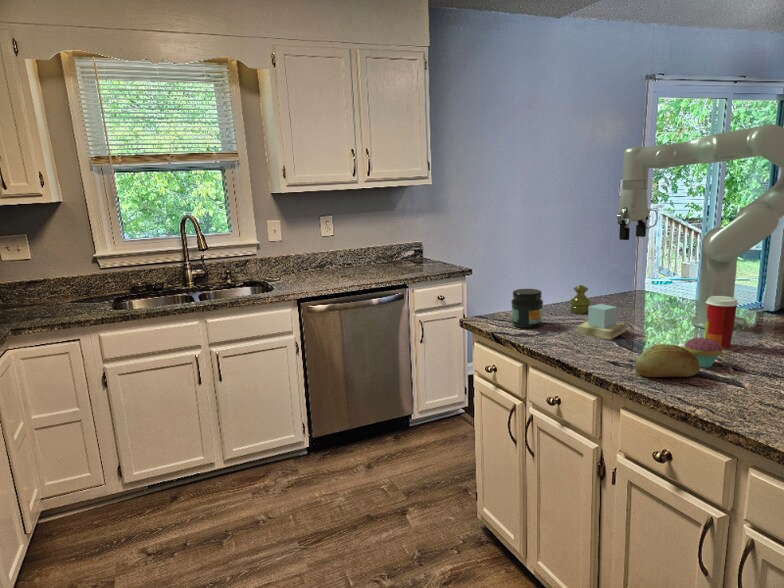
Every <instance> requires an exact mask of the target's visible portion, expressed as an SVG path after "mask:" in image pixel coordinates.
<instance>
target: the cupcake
mask: <svg viewBox="0 0 784 588" xmlns="http://www.w3.org/2000/svg"><path fill="white" fill-rule="evenodd" d="M708 327H709V322H708V320H707V322H706V327H705V328H704V336H703V337H698V336H697V337H694V338H690V339H689V340H688V341H686V342H685V344H684V347H683V348H685V349H687V350H688V351H690V352H692V353H693V354H694V355H695V356H696V358H697V359H698V362H699V364H700V368H712V367H713V365H714V363H715V361H716V359H717V358H718V356H721V355H723V349H722V347H721V345H720V344H719V343H718V342H716V341H714V340H711V339H708V338H707V335H708Z"/></svg>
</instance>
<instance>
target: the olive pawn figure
mask: <svg viewBox="0 0 784 588" xmlns="http://www.w3.org/2000/svg"><path fill="white" fill-rule="evenodd" d="M588 290H589V288H588V287H586V286H584V285H582V284H579V285H577V286H575V287H573V291H574V292H576V295H575V296H573V298H570V300H569V303H570V305H569V311H570V313H572V314H577V315H584V314H585V315H586V314H587V315H588V307H589V306H591V304H592V300H591V299H590V298H589V297H588V296H586V294H585V293H586V292H587V291H588Z"/></svg>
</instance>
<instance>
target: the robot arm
mask: <svg viewBox="0 0 784 588" xmlns="http://www.w3.org/2000/svg"><path fill="white" fill-rule="evenodd" d="M757 157H762V158H764V159H765V160H767V161H769V162H770V163H772V164H773V165H775V166H777V167H778V168H779V169H780V177H779V178H778V180H777V182H775V183H774V185H772V186H771V187H770V188H768V190H766V191H765V192H763V193H762V194H761V195H760V196H758V197H757V198H755V199H754V200H752V201H751V202H749V204H747V205H745V206H743V207H742V208H741V209H740V210H739V211H738V212H737V214H736V216H735V218H734V219H732V220H730V221H729V223H727V224H726V225H723V226H717V227H714V228H712V229H710V230H709V231H707V232H706V233H705V234H704V236H703V238H702V243H701V258H700V259H701V263H700V275H699V288H698V289H699V290H698V301H697V302H698V303H697V314H696V315H697V316H696V317H693V318H691V319H690V320H691V325H692V326H694V327H697V328H700V329H705V327H706V322H707V303H706V301H707V299H708V298H709V297H711V296H726V297H732V298H735V297H734V296H735V288H736V286H735V285H736V279H737V267H738V266H737V265H738V263H737V262H738V258H739V257H741V256H742V255H743V254H745V253H746V252H748V251H750V250H751V249H753V248H754V247H755V246H757V245H758V244H759V243H761V242H762V241H764V240H765V239H767V238H768V237H769V236H771V234H773V233H774V231H775V230H776V229H777V228H778V225H779V222H780V219H781V218H782V217H784V128H783V127H782V126H780V125H779V124H774V123H767V124H764V125H761V126H755V127H749V128H743V129H737V130H732V131H725V132H724V131H723V132H719V133H714V134H710V135H707V136H704V137H701V138H697V139H693V140H687V141H680V142H676V143H671V144H670V143H669V144H666V143H663V144H658V145H657V144H656V145H652V146H634V147H631V146H630V147H627V148H625V150H624V152H623V161H622V163H623V167H622V189H621V190H622V191H621V193H620V197H619V204H618V214H617V215H616V218H617V224H618V228H619V233H618V234H619V236H618V239H619V240H621V241H629V240H630V232H631V231H630V230H631V229H630V228H631V227H630V224H631V223H632V222H636V223H637V224H636V225H635V237H638V238H645V237H646V236H647V235H646V234H647V233H646V232H647V225H648V220H649V216H650V213H651V212H650V210H649V209H648V204H649V203H648V188H649V171H650V170H649V169H656V170H657V169H660V170H663V169H664V170H665V169H669V168H676V167H682V166H690V165H698V164H715V163H721V162H729V161H736V160H741V159H749V158H750V159H751V158H757ZM736 314H737V313H735V320H734V327H733V330H734V329H736V328H738V326H744V327H745V326H746V324H747V319H746V318H744V317H739V316H738V317H737V316H736Z"/></svg>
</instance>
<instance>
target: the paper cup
mask: <svg viewBox="0 0 784 588" xmlns="http://www.w3.org/2000/svg"><path fill="white" fill-rule="evenodd" d="M706 303H707V320H708V322H709V327H708V335H707V338H708V339H711V340H714V341H716V342H718V343H719V344H720V345H721V347H722V350H728V349H730V347H731V342H732V339H733V338H732V337H733V331H734V329H733V327H734V320H735V313H736V312H737V306H738V305H739V303H738V300H737V299H736V298H735V297H734V298H732V297H726V296H711V297H709V298H708V299H707V301H706ZM736 314H737V313H736Z"/></svg>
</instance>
